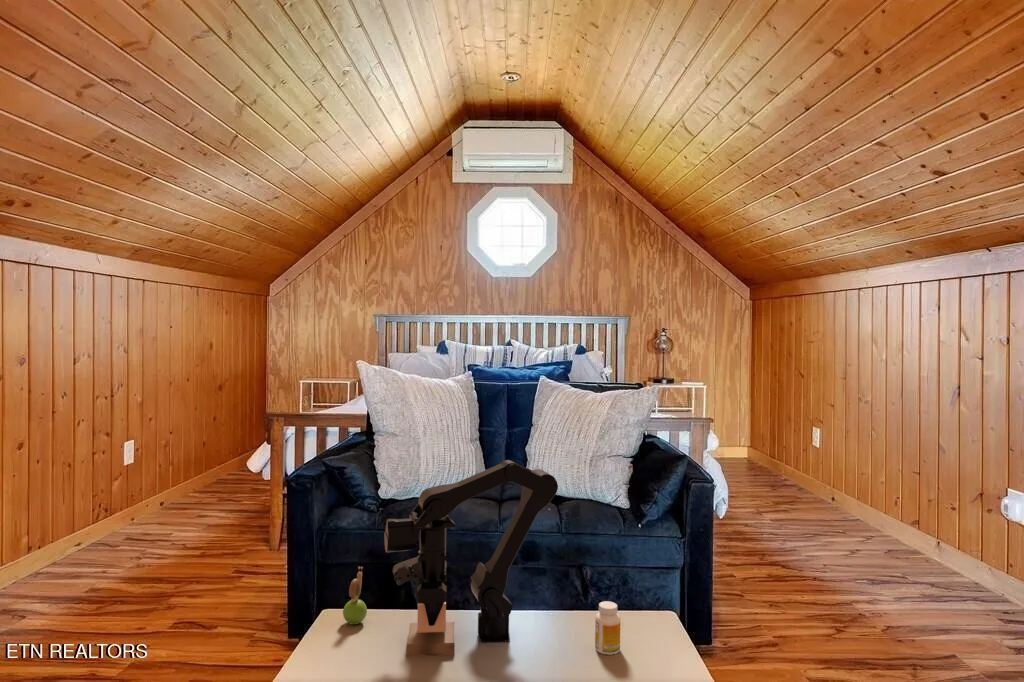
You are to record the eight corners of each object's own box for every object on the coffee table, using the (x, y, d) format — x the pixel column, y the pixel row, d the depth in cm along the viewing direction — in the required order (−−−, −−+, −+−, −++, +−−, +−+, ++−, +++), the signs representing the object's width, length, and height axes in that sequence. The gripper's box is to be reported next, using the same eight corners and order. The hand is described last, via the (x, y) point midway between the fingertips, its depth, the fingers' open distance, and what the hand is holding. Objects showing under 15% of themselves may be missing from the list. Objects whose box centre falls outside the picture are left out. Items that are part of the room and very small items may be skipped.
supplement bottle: (624, 649, 139) (625, 604, 139) (610, 658, 136) (611, 612, 135) (604, 641, 143) (605, 597, 143) (589, 649, 139) (590, 604, 139)
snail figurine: (371, 616, 154) (371, 566, 154) (362, 628, 147) (362, 576, 147) (349, 615, 154) (349, 565, 154) (339, 627, 148) (340, 575, 148)
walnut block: (454, 634, 146) (454, 621, 146) (454, 656, 136) (454, 642, 136) (409, 636, 145) (410, 622, 145) (406, 658, 135) (406, 644, 135)
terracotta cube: (445, 619, 144) (446, 592, 144) (445, 631, 138) (445, 603, 138) (418, 620, 143) (418, 593, 143) (417, 632, 137) (417, 604, 137)
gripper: (398, 535, 149) (398, 602, 149) (391, 563, 130) (390, 640, 130) (447, 534, 150) (446, 600, 150) (446, 562, 131) (446, 638, 132)
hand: (432, 618), depth 141 cm, fingers closed on terracotta cube, 6 cm apart
